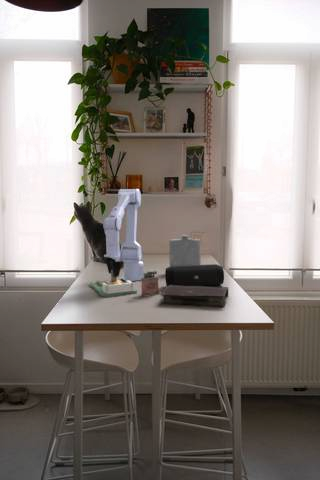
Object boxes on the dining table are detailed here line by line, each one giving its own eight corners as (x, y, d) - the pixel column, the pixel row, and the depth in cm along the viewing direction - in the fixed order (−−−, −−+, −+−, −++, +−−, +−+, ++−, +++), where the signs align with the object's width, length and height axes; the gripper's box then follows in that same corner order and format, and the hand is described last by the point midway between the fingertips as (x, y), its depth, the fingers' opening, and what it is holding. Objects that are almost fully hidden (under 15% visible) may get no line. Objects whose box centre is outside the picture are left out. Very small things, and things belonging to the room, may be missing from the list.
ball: (122, 292, 202) (120, 286, 205) (123, 284, 200) (121, 279, 203) (113, 293, 200) (111, 287, 204) (114, 285, 199) (112, 280, 202)
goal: (128, 287, 207) (128, 280, 206) (133, 290, 201) (132, 282, 201) (102, 290, 202) (102, 282, 202) (106, 293, 197) (106, 285, 196)
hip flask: (169, 274, 240) (169, 235, 237) (170, 272, 244) (169, 234, 241) (200, 274, 239) (200, 235, 236) (200, 272, 243) (200, 234, 240)
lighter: (143, 296, 196) (142, 273, 194) (140, 294, 199) (139, 271, 197) (160, 293, 199) (160, 271, 198) (156, 292, 202) (156, 269, 201)
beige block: (118, 285, 210) (118, 268, 209) (122, 287, 206) (121, 270, 205) (106, 286, 208) (105, 269, 207) (109, 289, 203) (108, 271, 202)
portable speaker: (168, 290, 205) (167, 268, 204) (165, 285, 215) (164, 264, 214) (224, 288, 208) (224, 266, 207) (219, 283, 218) (219, 262, 217)
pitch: (120, 282, 223) (120, 278, 222) (136, 293, 202) (136, 288, 201) (90, 285, 217) (89, 281, 217) (103, 296, 196) (103, 292, 196)
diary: (169, 295, 200) (169, 283, 200) (228, 297, 195) (228, 285, 194) (159, 306, 182) (159, 293, 182) (224, 309, 177) (224, 296, 176)
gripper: (99, 243, 209) (100, 272, 211) (108, 247, 196) (109, 279, 198) (114, 242, 212) (115, 271, 214) (124, 246, 199) (125, 277, 201)
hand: (113, 274), depth 206 cm, fingers open, 7 cm apart
